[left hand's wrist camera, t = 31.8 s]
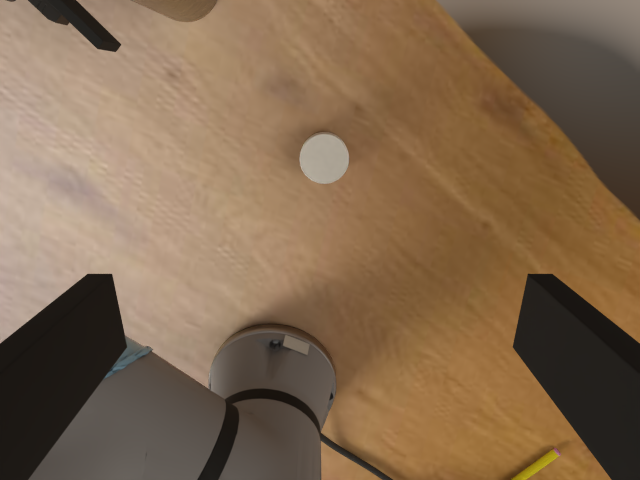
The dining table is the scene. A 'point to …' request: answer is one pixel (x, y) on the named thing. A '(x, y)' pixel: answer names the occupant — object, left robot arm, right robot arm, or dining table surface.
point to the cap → (324, 157)
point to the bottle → (180, 8)
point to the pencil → (537, 465)
